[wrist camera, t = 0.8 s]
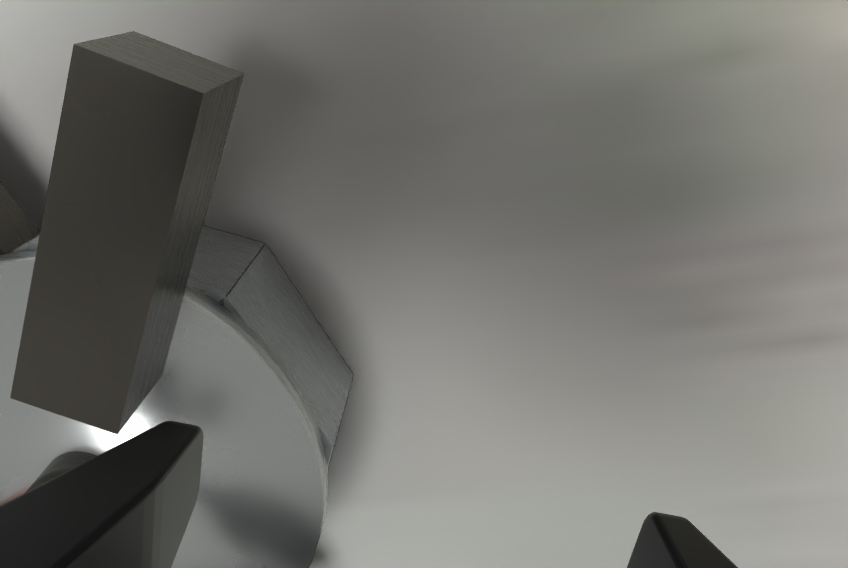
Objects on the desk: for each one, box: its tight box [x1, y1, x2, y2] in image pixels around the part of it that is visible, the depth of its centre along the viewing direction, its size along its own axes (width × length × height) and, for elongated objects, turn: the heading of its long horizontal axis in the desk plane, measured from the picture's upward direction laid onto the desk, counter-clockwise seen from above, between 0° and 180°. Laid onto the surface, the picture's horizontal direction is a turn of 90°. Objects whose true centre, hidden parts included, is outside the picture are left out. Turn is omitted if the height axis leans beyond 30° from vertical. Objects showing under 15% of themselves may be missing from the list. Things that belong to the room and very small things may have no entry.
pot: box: [0, 182, 353, 466], centre depth 21 cm, size 19×11×4 cm, turn 30°
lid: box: [0, 31, 328, 568], centre depth 17 cm, size 17×12×3 cm
